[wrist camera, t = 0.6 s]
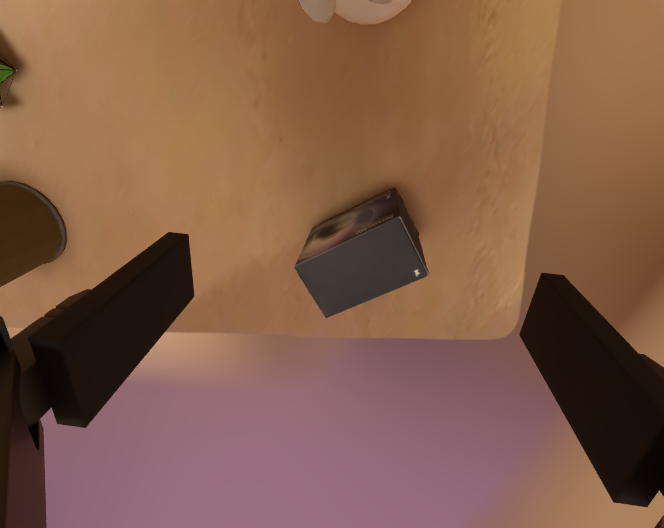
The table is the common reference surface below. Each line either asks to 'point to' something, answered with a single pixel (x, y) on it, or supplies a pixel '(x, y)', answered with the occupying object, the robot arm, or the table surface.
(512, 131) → the table surface
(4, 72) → the geometric puzzle
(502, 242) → the table surface
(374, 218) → the small box
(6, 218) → the canister
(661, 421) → the robot arm
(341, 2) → the flower vase
